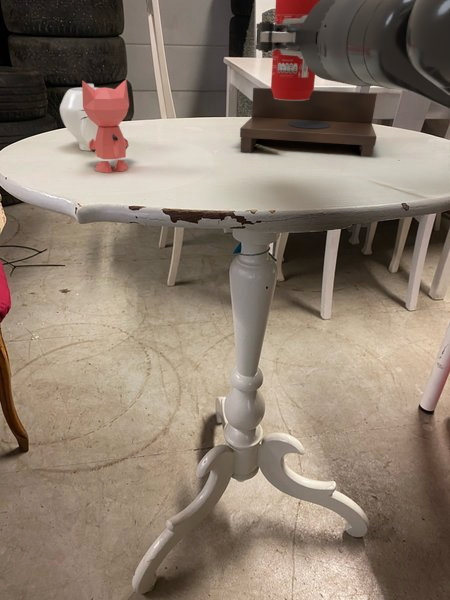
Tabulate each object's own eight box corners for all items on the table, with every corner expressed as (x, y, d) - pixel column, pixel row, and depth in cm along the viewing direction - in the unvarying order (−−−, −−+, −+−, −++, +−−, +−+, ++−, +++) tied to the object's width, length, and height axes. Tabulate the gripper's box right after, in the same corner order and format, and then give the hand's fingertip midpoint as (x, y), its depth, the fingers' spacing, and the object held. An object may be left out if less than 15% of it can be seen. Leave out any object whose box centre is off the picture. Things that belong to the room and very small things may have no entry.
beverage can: (261, 98, 57) (267, -20, 51) (287, 95, 61) (295, -17, 55) (296, 102, 54) (306, -23, 48) (321, 98, 58) (333, -19, 52)
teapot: (61, 162, 71) (51, 97, 67) (68, 137, 88) (60, 83, 83) (125, 160, 73) (119, 96, 69) (120, 135, 90) (115, 83, 85)
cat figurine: (129, 162, 73) (122, 76, 67) (144, 172, 67) (138, 81, 61) (83, 166, 70) (71, 77, 64) (95, 178, 64) (84, 82, 58)
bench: (367, 145, 87) (376, 92, 83) (372, 161, 76) (382, 102, 72) (251, 138, 91) (253, 87, 86) (239, 152, 80) (241, 95, 75)
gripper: (435, -8, 42) (345, 2, 56) (287, -15, 39) (231, -3, 53) (417, 83, 46) (337, 71, 60) (280, 85, 42) (230, 71, 57)
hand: (288, 36), depth 56 cm, fingers closed on beverage can, 5 cm apart
